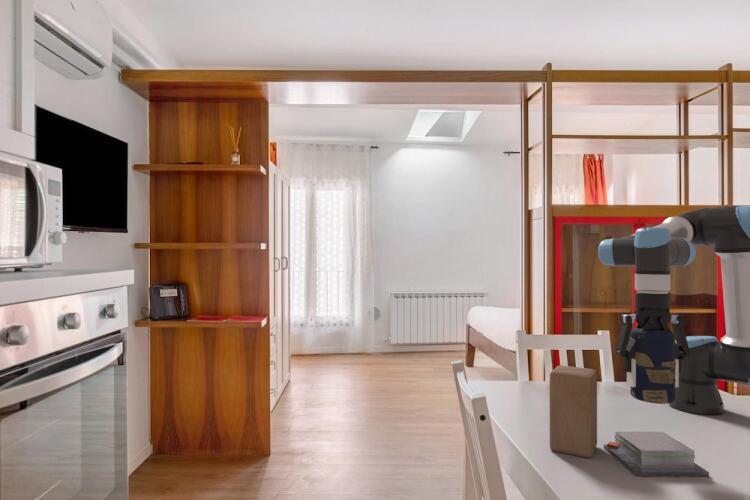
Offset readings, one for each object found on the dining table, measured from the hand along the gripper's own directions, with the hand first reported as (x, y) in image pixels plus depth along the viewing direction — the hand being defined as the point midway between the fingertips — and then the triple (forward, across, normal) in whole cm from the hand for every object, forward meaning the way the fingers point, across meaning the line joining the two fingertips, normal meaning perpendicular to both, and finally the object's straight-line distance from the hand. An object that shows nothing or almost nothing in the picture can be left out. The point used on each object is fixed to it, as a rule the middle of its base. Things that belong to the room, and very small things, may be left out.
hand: (652, 385), depth 118 cm
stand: (+18, 0, 0) cm, 18 cm away
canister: (+4, 0, 0) cm, 4 cm away
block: (+18, +16, -8) cm, 25 cm away
